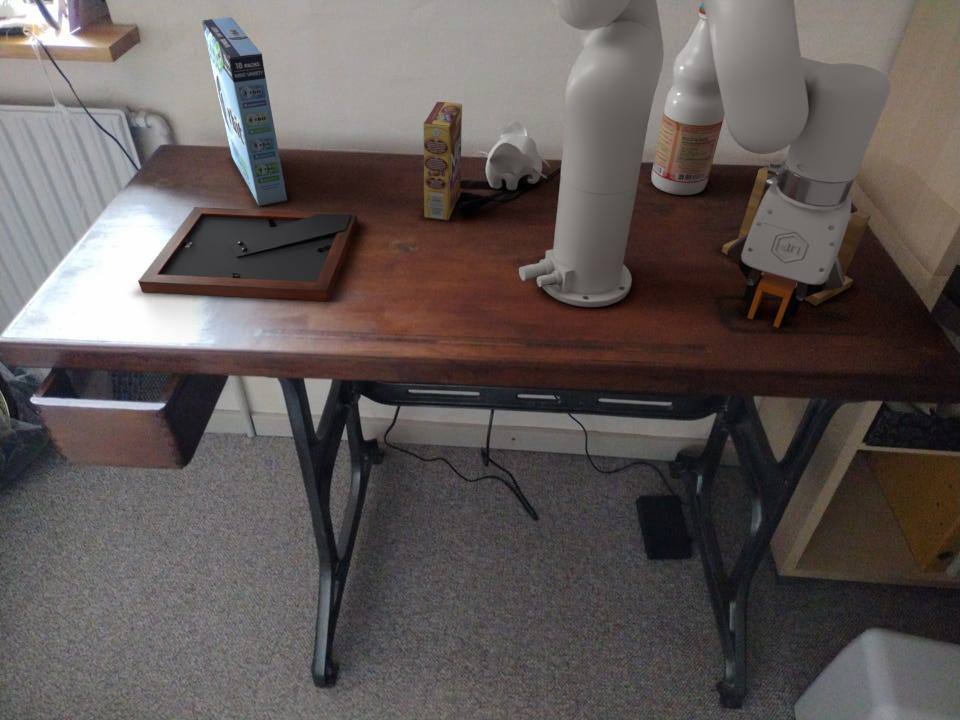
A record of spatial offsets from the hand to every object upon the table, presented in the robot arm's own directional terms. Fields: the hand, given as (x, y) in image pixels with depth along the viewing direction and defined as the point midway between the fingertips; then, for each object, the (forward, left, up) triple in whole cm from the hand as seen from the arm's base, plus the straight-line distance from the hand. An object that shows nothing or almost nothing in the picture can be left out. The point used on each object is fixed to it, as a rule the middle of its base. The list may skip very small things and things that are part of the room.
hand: (767, 311), depth 89 cm
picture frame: (-58, +40, -1) cm, 70 cm away
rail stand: (+10, +8, -1) cm, 13 cm away
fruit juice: (+12, +35, -1) cm, 37 cm away
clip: (0, 0, -1) cm, 1 cm away
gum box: (-53, +64, -1) cm, 83 cm away
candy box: (-28, +43, -1) cm, 51 cm away
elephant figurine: (-14, +46, -1) cm, 48 cm away
